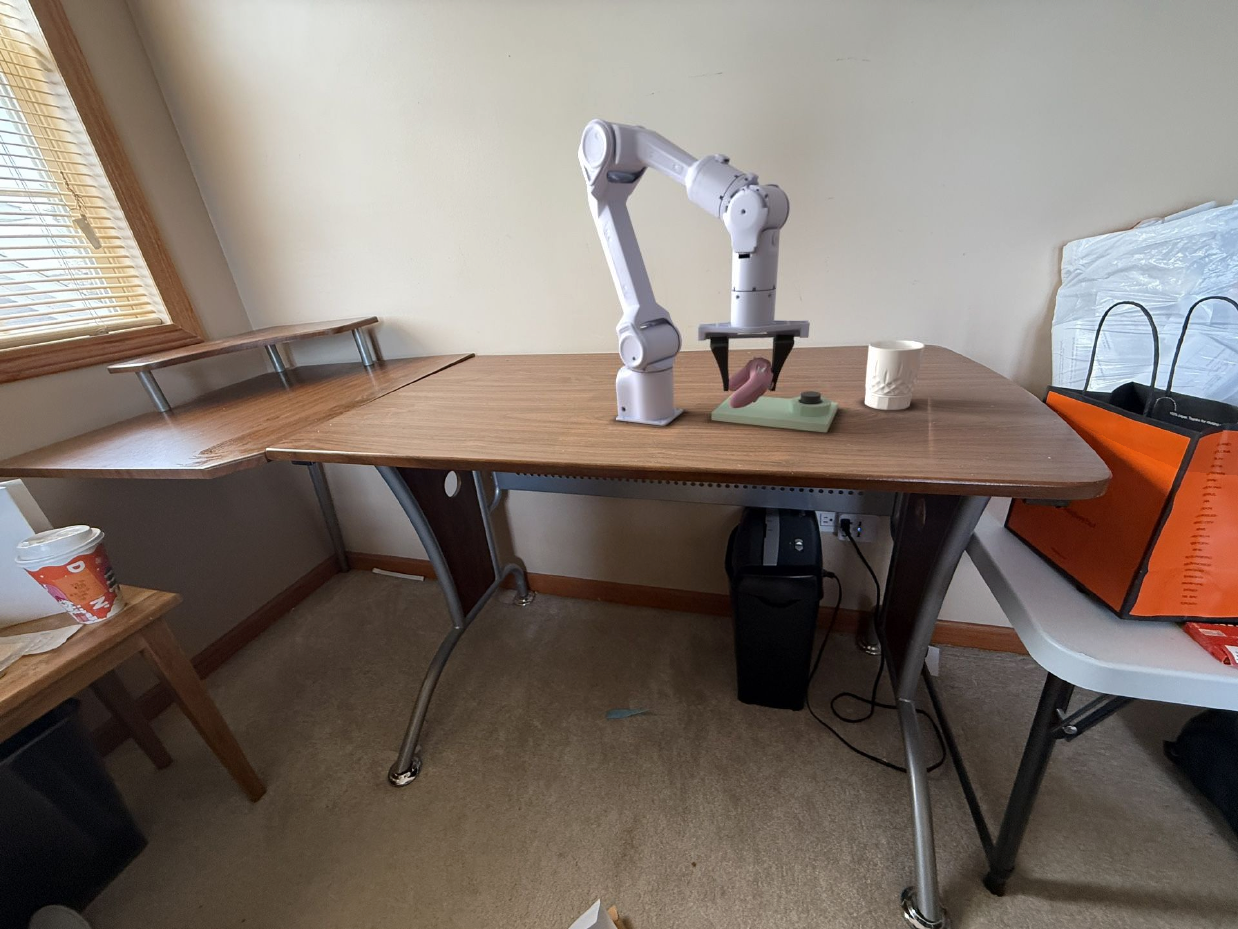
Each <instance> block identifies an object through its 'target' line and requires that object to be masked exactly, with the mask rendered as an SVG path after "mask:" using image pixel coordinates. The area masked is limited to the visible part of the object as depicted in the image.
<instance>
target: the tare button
mask: <svg viewBox="0 0 1238 929" xmlns="http://www.w3.org/2000/svg"><path fill="white" fill-rule="evenodd" d="M800 396H801V400H800V403H802V404H809V405H815V404H820V402H821V397H822V393H821V392H819V391H814V390H813V391H812V390H808V391H807V390H806V391H802V392H801V393H800Z"/></svg>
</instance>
